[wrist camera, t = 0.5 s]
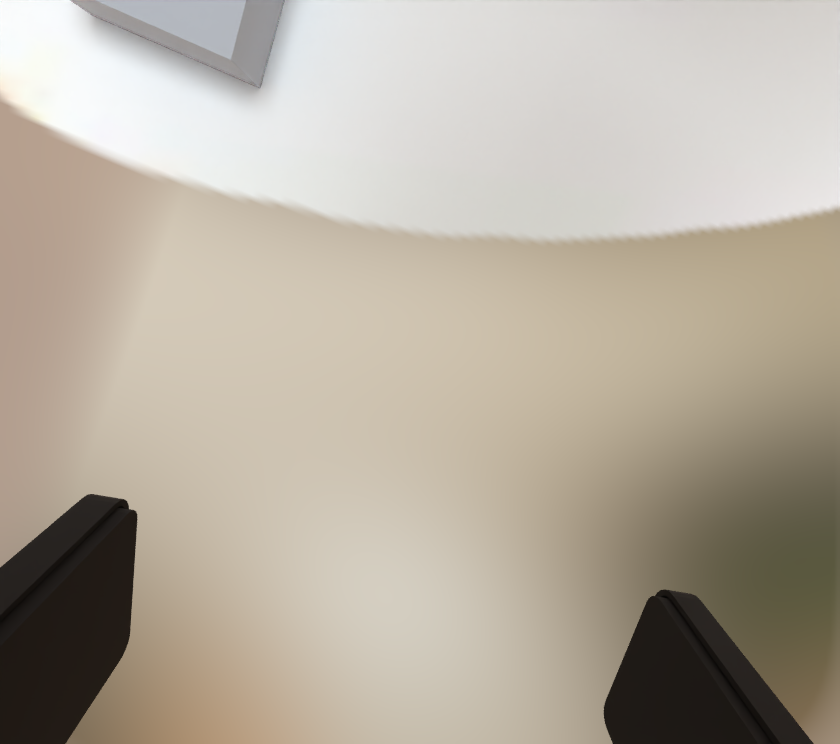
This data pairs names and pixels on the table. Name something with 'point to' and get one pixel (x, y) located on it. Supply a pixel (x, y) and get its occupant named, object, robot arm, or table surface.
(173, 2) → the slate base
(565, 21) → the table surface
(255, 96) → the table surface
